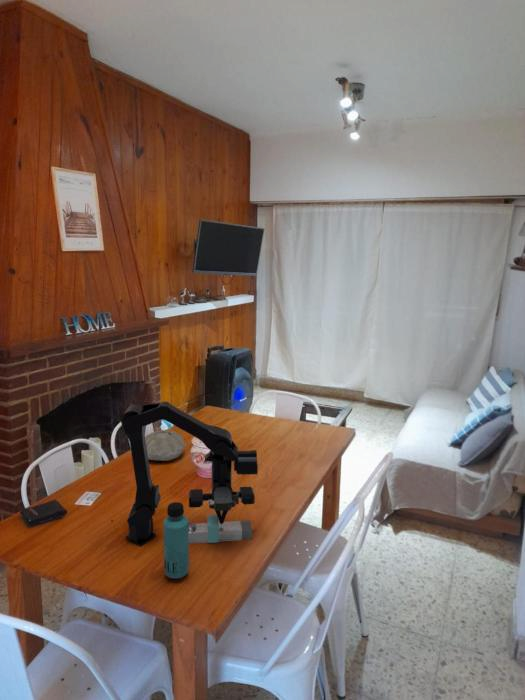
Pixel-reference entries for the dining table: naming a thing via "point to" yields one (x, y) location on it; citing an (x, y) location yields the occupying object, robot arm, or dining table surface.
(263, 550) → the dining table surface
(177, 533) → the beverage bottle
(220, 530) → the tongs body
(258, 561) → the dining table surface
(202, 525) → the tongs jaw
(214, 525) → the lock collar
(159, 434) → the grey rounded lump
